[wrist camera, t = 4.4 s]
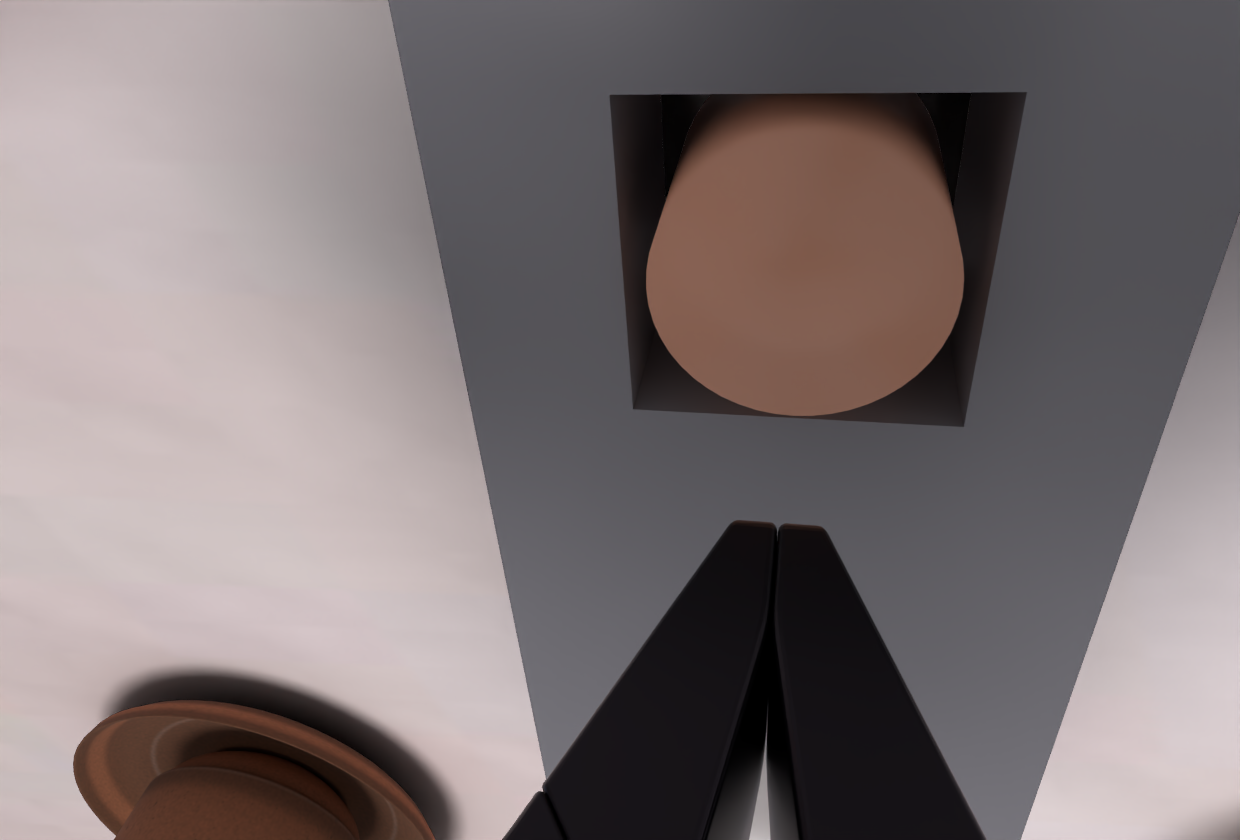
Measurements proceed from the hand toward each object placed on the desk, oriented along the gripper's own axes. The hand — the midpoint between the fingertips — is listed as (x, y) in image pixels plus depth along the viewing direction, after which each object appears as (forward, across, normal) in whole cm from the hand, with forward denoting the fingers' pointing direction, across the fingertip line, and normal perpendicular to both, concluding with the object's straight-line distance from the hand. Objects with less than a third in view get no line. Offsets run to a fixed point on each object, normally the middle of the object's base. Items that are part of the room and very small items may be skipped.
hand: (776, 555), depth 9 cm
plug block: (+9, 0, +6) cm, 11 cm away
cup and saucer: (+10, +16, +22) cm, 29 cm away
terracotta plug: (+8, 0, 0) cm, 8 cm away
